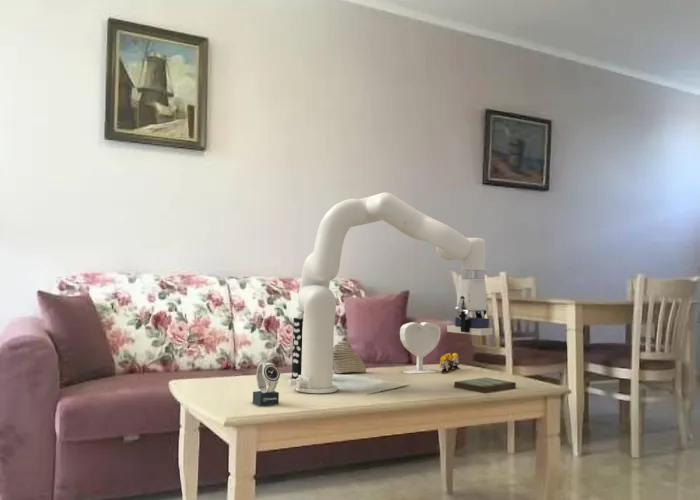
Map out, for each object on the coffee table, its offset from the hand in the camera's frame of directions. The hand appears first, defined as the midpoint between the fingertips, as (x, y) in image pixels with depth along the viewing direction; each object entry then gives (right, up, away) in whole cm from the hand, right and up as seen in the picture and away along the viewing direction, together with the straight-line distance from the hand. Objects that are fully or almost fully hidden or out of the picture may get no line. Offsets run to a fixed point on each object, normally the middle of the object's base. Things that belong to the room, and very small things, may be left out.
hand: (471, 331), depth 219 cm
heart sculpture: (-14, -19, +29) cm, 37 cm away
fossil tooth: (-41, -18, +22) cm, 50 cm away
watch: (-62, -15, -36) cm, 74 cm away
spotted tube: (-55, -17, +8) cm, 58 cm away
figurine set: (-2, -19, +34) cm, 39 cm away
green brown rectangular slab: (+4, -18, -1) cm, 19 cm away
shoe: (-1, -1, +1) cm, 1 cm away
